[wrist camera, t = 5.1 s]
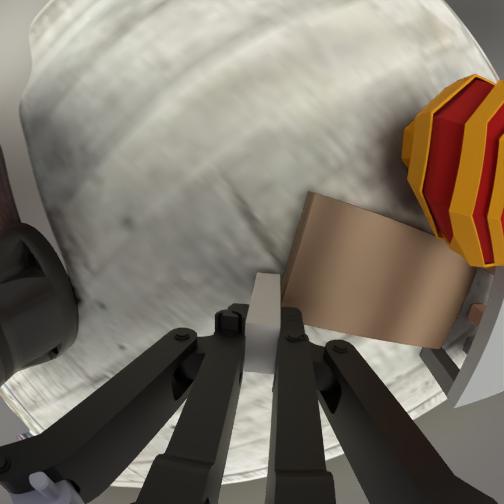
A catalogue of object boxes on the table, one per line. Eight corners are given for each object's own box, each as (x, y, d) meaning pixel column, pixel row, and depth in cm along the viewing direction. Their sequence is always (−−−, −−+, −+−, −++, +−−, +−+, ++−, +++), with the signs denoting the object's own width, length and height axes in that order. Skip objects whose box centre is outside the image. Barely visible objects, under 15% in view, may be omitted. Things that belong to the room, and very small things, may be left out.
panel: (276, 298, 20) (276, 317, 17) (308, 191, 18) (315, 193, 15) (424, 331, 20) (439, 349, 17) (460, 247, 18) (481, 256, 15)
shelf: (419, 355, 20) (453, 408, 13) (458, 178, 16) (523, 185, 9) (471, 348, 20) (507, 389, 13) (509, 194, 16) (565, 205, 8)
